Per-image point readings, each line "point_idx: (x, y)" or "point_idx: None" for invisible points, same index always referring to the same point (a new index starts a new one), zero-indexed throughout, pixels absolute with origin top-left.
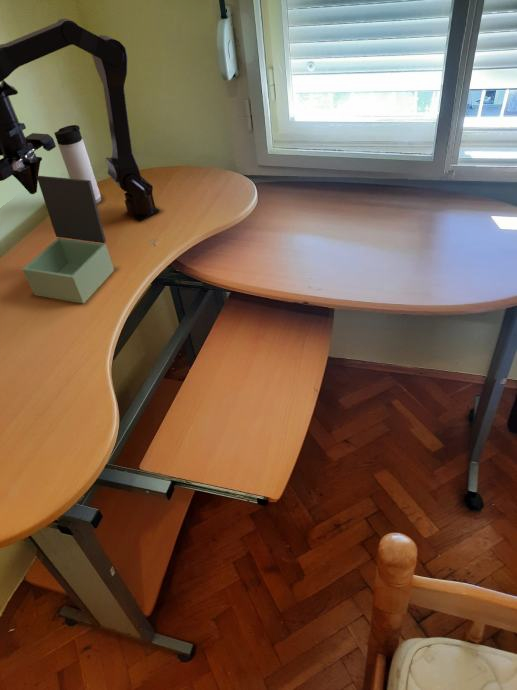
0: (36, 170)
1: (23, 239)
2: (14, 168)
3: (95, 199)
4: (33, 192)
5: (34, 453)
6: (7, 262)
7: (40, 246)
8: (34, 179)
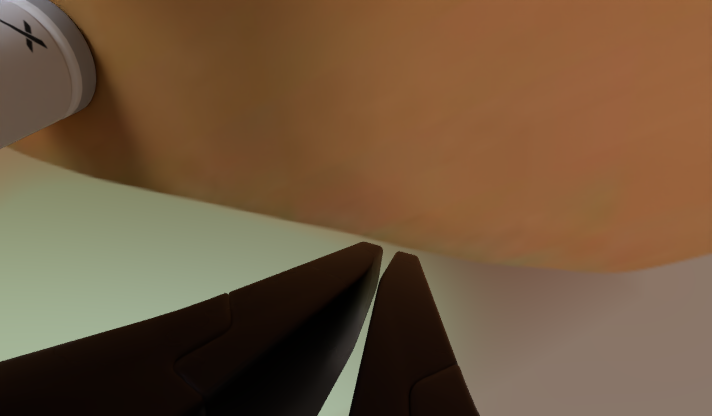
0: (154, 377)
1: (437, 250)
2: None
3: (28, 4)
4: (418, 265)
5: None
6: (677, 253)
7: (511, 138)
8: (306, 325)
